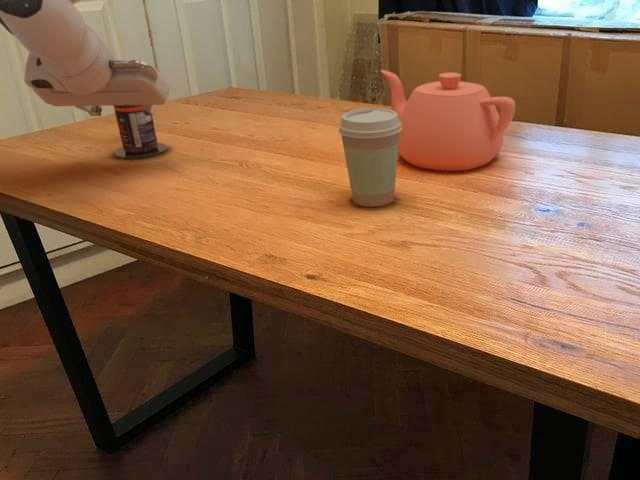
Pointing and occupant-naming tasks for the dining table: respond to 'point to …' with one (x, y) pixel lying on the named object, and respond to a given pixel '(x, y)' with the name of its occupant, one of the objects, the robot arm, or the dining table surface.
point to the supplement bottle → (135, 129)
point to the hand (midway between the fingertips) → (124, 112)
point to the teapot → (449, 123)
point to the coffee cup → (371, 154)
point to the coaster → (125, 155)
